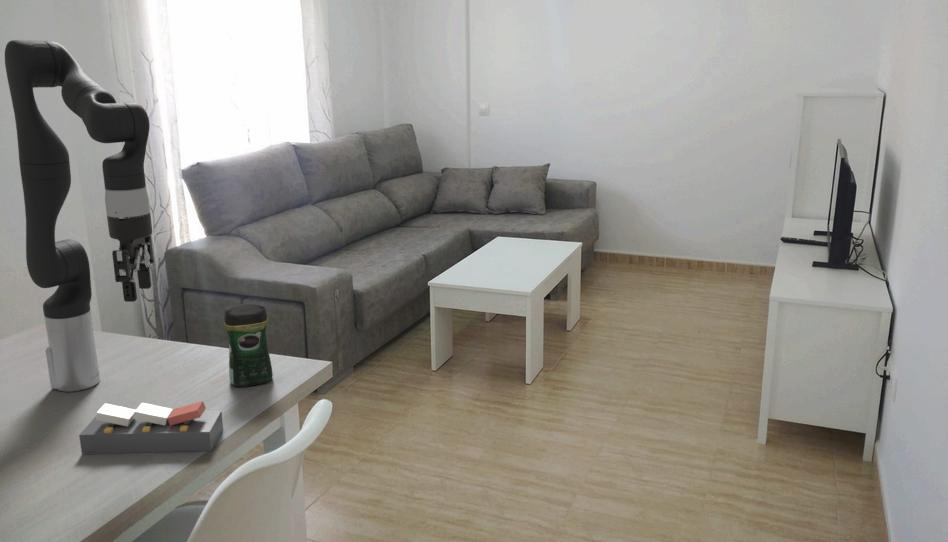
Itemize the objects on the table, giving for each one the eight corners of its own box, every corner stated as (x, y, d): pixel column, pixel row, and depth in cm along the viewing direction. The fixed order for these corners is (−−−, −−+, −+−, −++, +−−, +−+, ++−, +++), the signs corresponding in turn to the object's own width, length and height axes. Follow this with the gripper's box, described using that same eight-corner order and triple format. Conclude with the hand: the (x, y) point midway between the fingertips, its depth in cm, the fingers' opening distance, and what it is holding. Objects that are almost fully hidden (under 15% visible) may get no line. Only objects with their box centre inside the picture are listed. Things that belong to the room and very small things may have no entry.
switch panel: (82, 454, 147) (78, 430, 146) (101, 431, 156) (97, 408, 154) (211, 450, 148) (209, 427, 147) (223, 428, 157) (221, 406, 156)
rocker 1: (95, 419, 148) (96, 412, 147) (103, 410, 152) (105, 403, 151) (127, 426, 149) (129, 419, 148) (135, 417, 152) (136, 409, 152)
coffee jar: (270, 371, 185) (265, 296, 180) (274, 384, 178) (269, 307, 173) (228, 376, 182) (221, 301, 177) (230, 390, 175) (223, 312, 170)
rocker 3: (170, 425, 149) (167, 418, 149) (176, 416, 153) (173, 409, 152) (200, 417, 149) (197, 410, 149) (205, 408, 153) (202, 401, 152)
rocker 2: (133, 419, 148) (134, 411, 148) (140, 409, 152) (141, 402, 152) (165, 425, 149) (166, 418, 149) (171, 416, 153) (173, 409, 152)
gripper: (122, 204, 153) (131, 284, 157) (92, 219, 139) (104, 306, 143) (161, 204, 153) (169, 283, 158) (135, 219, 140) (145, 305, 144)
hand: (138, 294), depth 151 cm, fingers open, 7 cm apart
